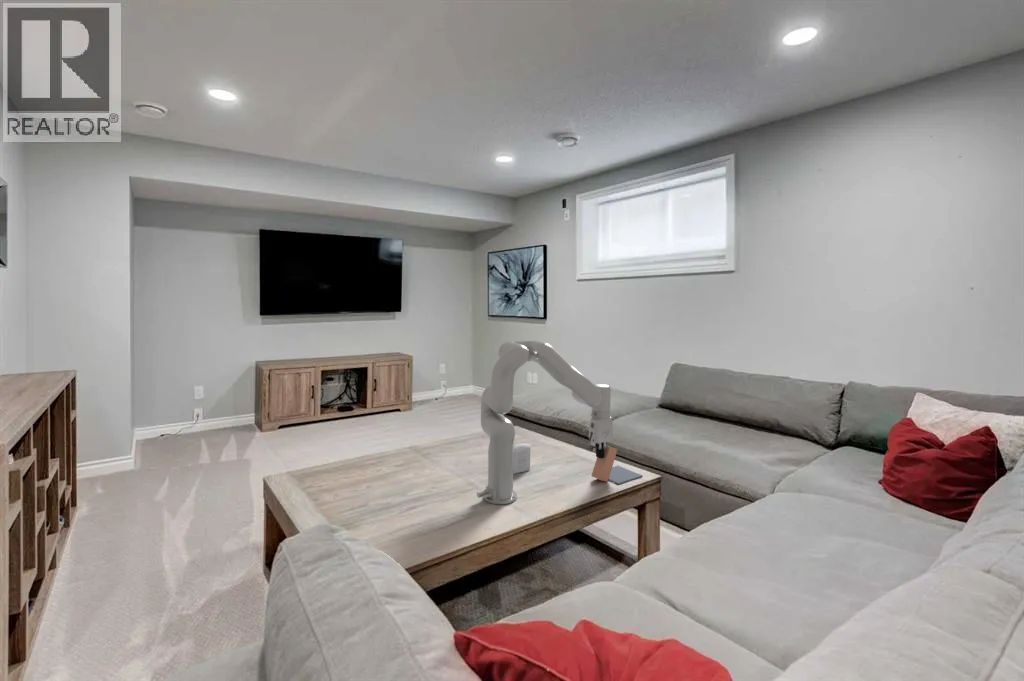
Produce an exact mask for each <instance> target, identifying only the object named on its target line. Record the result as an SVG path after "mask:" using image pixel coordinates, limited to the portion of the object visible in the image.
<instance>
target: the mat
mask: <svg viewBox="0 0 1024 681" xmlns="http://www.w3.org/2000/svg"><path fill="white" fill-rule="evenodd" d="M639 478H643V475H642V474H640V473H637V472H635V471H632V470H630V469H627V468H625V467H622V466H619V465H616V466H612V469H611V473H610V476H609V479H608V482H611V483H613V482H614V484H616V485H618V484H619V485H622V484H624V483H625V484H626V483H628V482H631V481H633V480H637V479H639ZM621 483H622V484H621Z"/></svg>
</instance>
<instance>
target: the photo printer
mask: <svg viewBox="0 0 1024 681" xmlns="http://www.w3.org/2000/svg"><path fill="white" fill-rule="evenodd" d="M530 470H531V447H530V444H528V443H522V442H521V443H516V444H514V445H513V475H514V474H519V473H523V472H528V471H530Z"/></svg>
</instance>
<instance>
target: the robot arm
mask: <svg viewBox="0 0 1024 681" xmlns="http://www.w3.org/2000/svg"><path fill="white" fill-rule="evenodd" d="M497 353H498V357H499V358H498V359H497V361H496V362H495V363H494V365H493V368H492V371H491V378H490V379H491V380H490V385H489V386H487V387H485V389H484V390H483V392H482V394H481V399H480V400H481V401H480V402H481V403H480V427H481V429H482V431H483V432H484V433H485V435H487V436H488V437H489V444H488V451H487V475H488V476H487V486H485V489H484V490H482V491H478V492H476V497H477V498H479V499H480V498H483V499H484V501H486V502H487V503H488V504H489V503H490V504H493V505H506V504H511V503H513V502H515V501H516V500H517V498H518V496H517V492H516V491H515V490H514V474H513V446H514V445H515V444H514V442H515V437H516V429H515V426H514V424H513V422H512V421H511V420H510V419H509V418H508V417H506V416H505V415H506V414H508V413H509V412H510V411H512V409H513V405H514V383H515V375H516V374H517V372H518V370H519V369H520V368H521V367H523V366H524V365H526V364H527V363H528V362H534V363H537V364H538V365H539V366H540V367H541V368H542V369H543V370H544V371H546V373H547V374H549V376H550V377H551V378H552V379H553V380H555V382H557V383H558V384H560V385H562V386H564V387H565V388H567V389H568V390H571V391H572V392H571V395H572V397H573V399H574V401H576V402H578V403H579V404H583V405H584V406H587V407H590V408H591V413H590V416H591V417H590V421H589V429H588V441H589V445H590V446H591V447H594V448H595V457H596V458H597V457H598V458H604V448H605V447H606V446H607V444H608V443H609V442H611V441H612V440H613V438H614V425H613V419H612V416H611V397H612V396H611V394H612V393H611V392H612V391H611V390H612V389H611V388H612V387H611V386H610V385H608V384H603V383H596V384H594V383H593V382H592V381H591V380H589V379H588V378H587V377H586V376H585V375H583V374H582V373H581V372H580V371H579V370H577V369H576V368H575V367H574V366H573V365H571V364H570V363H569V362H568V361H567V360H566V359H565V358H564V357H563V356H562V355H561V354H560V353H559V352H558V351H557V349H555V347H553V346H552V345H551V344H550V343H547V342H543V341H540V340H514V341H511V340H510V341H505V342H503V343H502V344H501V345H500V346H499V348H498V352H497Z"/></svg>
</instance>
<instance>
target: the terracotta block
mask: <svg viewBox="0 0 1024 681" xmlns="http://www.w3.org/2000/svg"><path fill="white" fill-rule="evenodd" d="M617 452H618V448H614V447H611V446H609V445H606V447H605V448H604V458H598V457H596V460H595V462H594V466H593V470H592V473H591V477H592V478H594V479H596V480H599V481H603V482H607V483H608V482H609V480H608V479H609V476H610V473H611V469H612V467H614V466H613V465H614V462H615V459H616V456H617Z"/></svg>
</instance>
